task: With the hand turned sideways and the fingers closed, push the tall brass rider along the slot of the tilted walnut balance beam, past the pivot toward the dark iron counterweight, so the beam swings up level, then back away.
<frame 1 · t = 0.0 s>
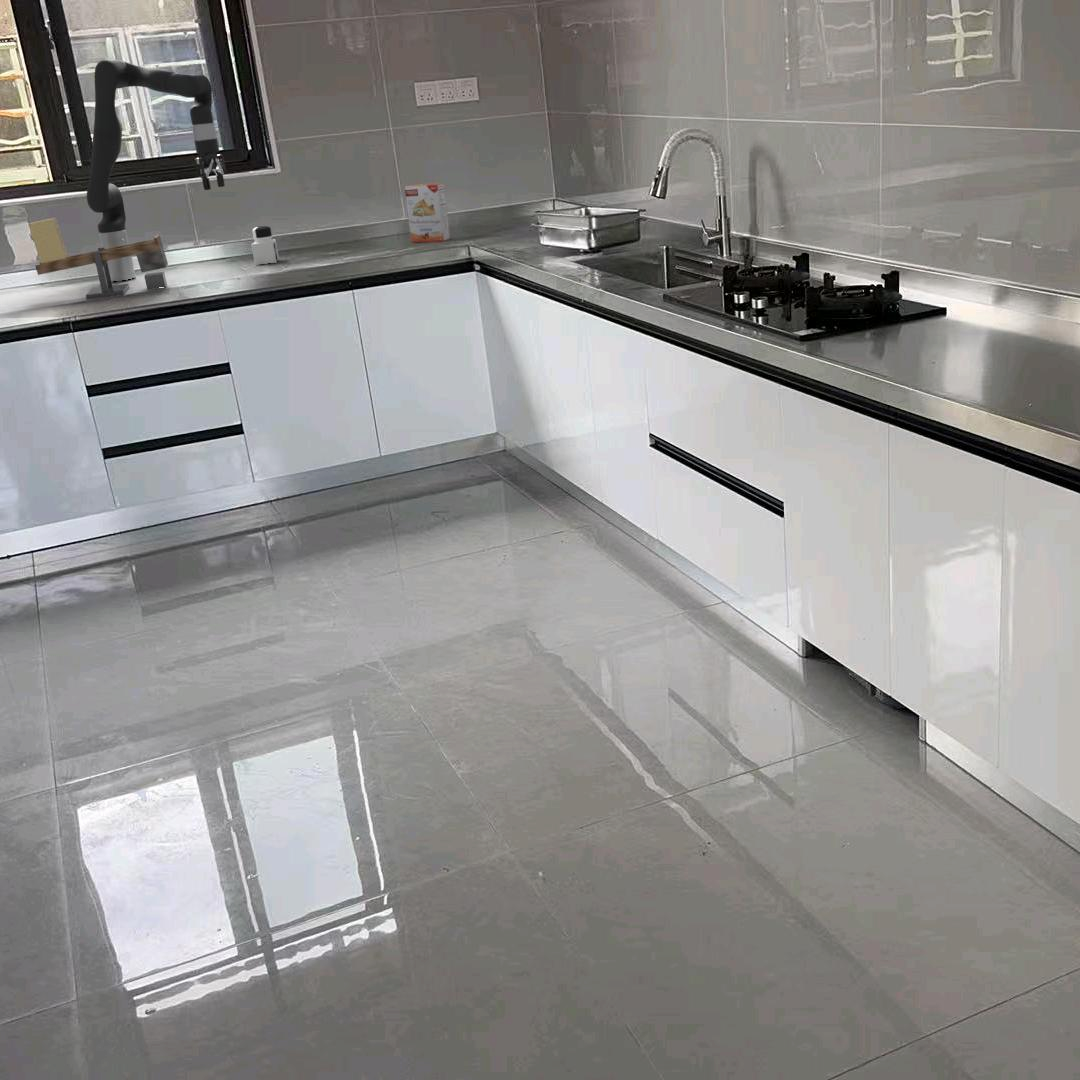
hand: (214, 188, 411), 29 cm above the counter, tool pointing down, fingers open, 8 cm apart
pivot stand: (108, 293, 407), on the counter
beam: (102, 263, 403), point 10 cm above the counter, hinge at 5.1°, touching rider
cracker box: (431, 241, 458), on the counter
container: (267, 263, 443), on the counter
rider: (56, 263, 400), point 12 cm above the counter, tilted 5°, touching beam
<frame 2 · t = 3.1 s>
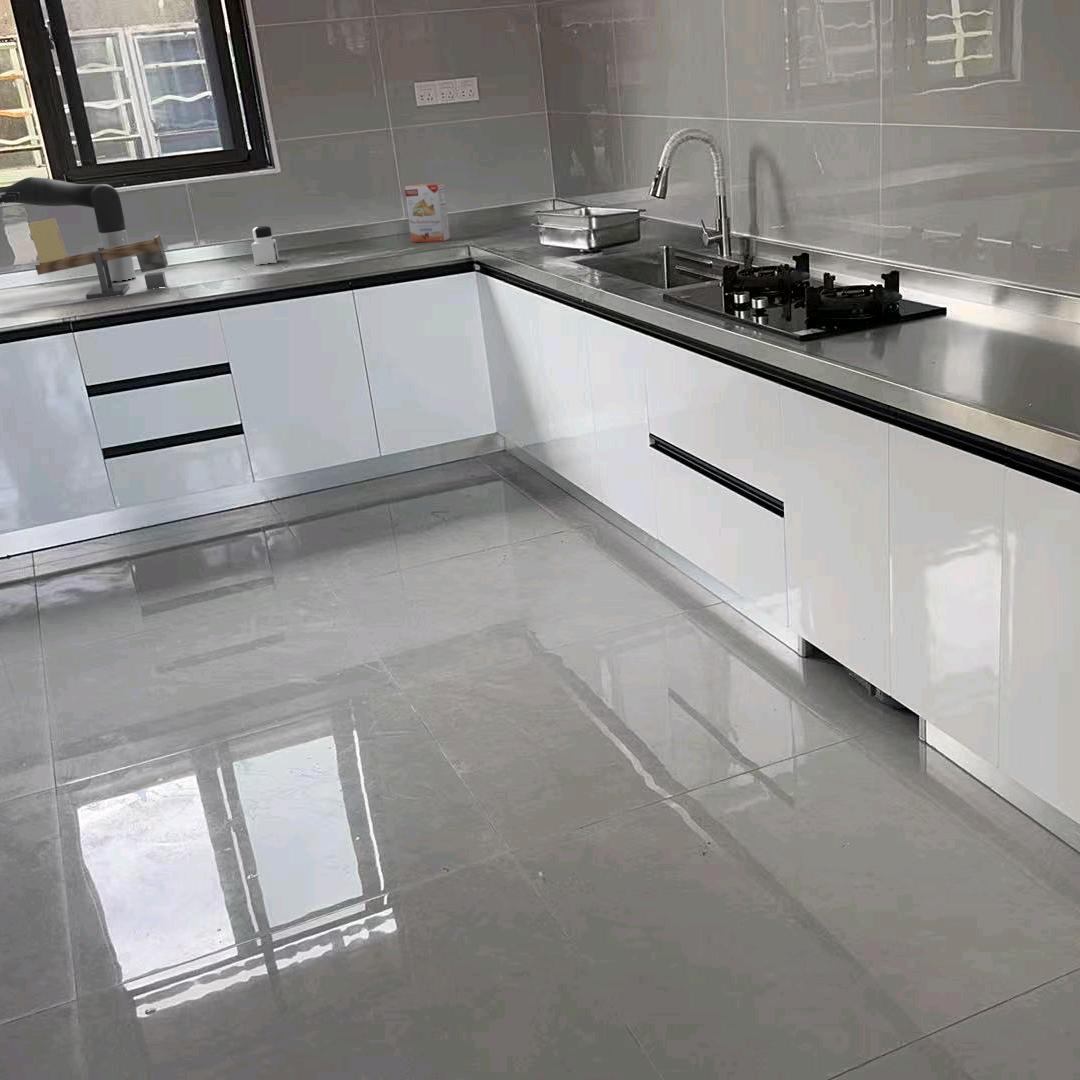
hand: (17, 197, 389), 34 cm above the counter, tool horizontal, fingers open, 8 cm apart
nothing on the counter moved.
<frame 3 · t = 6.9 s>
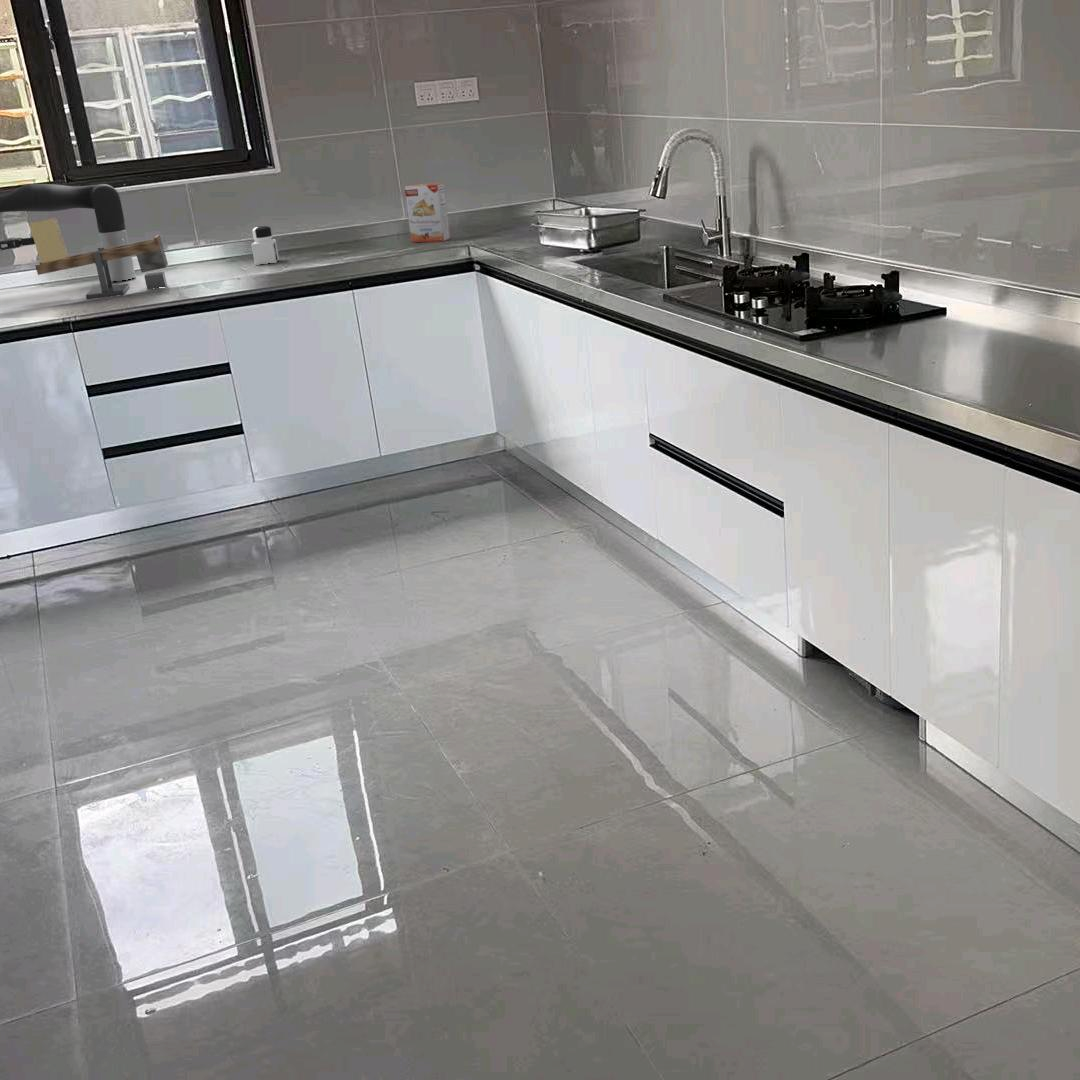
hand: (34, 240, 395), 20 cm above the counter, tool horizontal, fingers closed
rider: (56, 263, 400), point 12 cm above the counter, tilted 5°, touching beam, gripper
everything else where it was.
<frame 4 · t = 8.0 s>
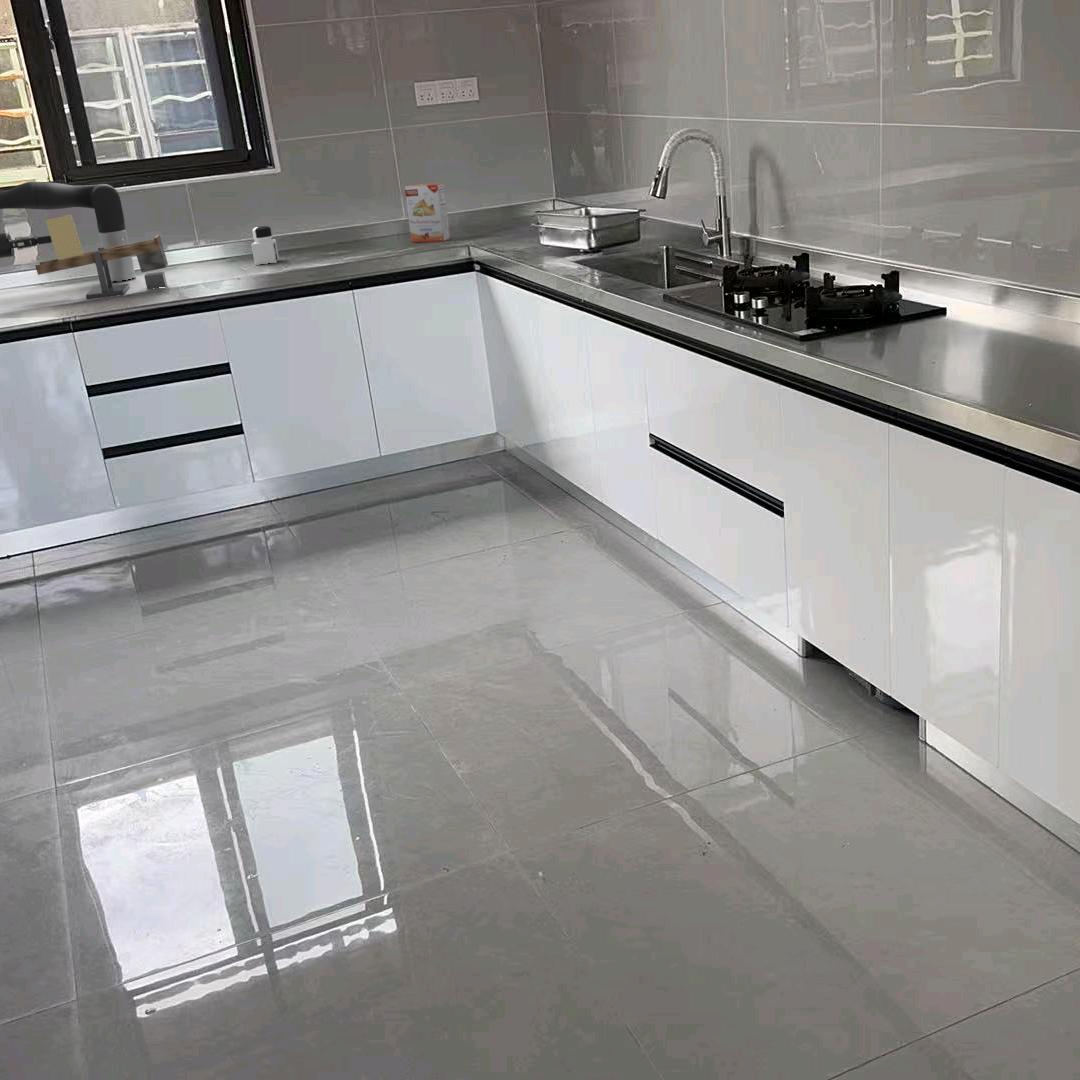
hand: (50, 239, 395), 20 cm above the counter, tool horizontal, fingers closed
rider: (72, 260, 401), point 12 cm above the counter, tilted 5°, touching beam, gripper
everything else where it was.
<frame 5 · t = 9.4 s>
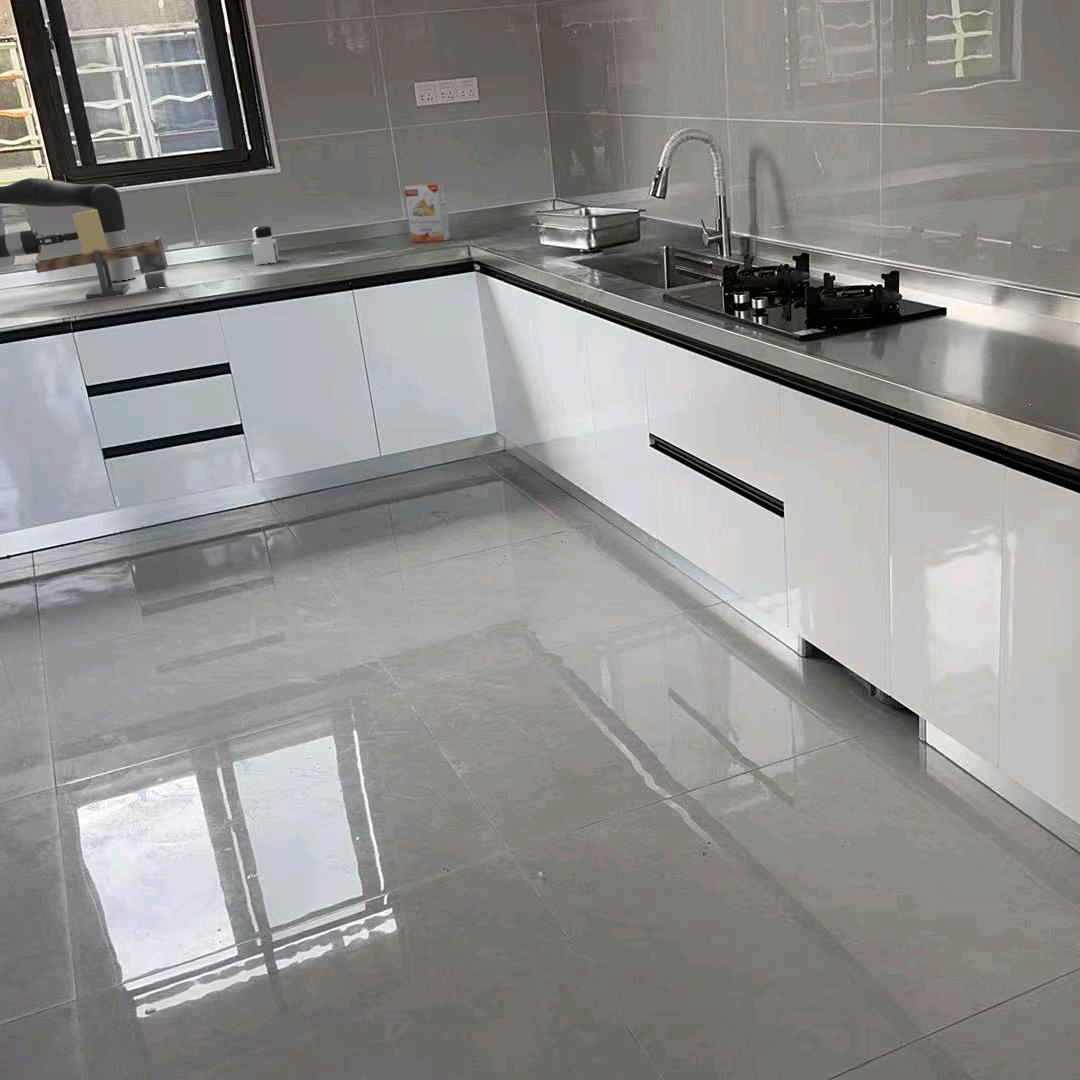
hand: (77, 235, 396), 20 cm above the counter, tool horizontal, fingers closed
beam: (102, 263, 403), point 10 cm above the counter, hinge at 3.2°
rider: (96, 254, 402), point 13 cm above the counter, touching gripper
everything else where it was.
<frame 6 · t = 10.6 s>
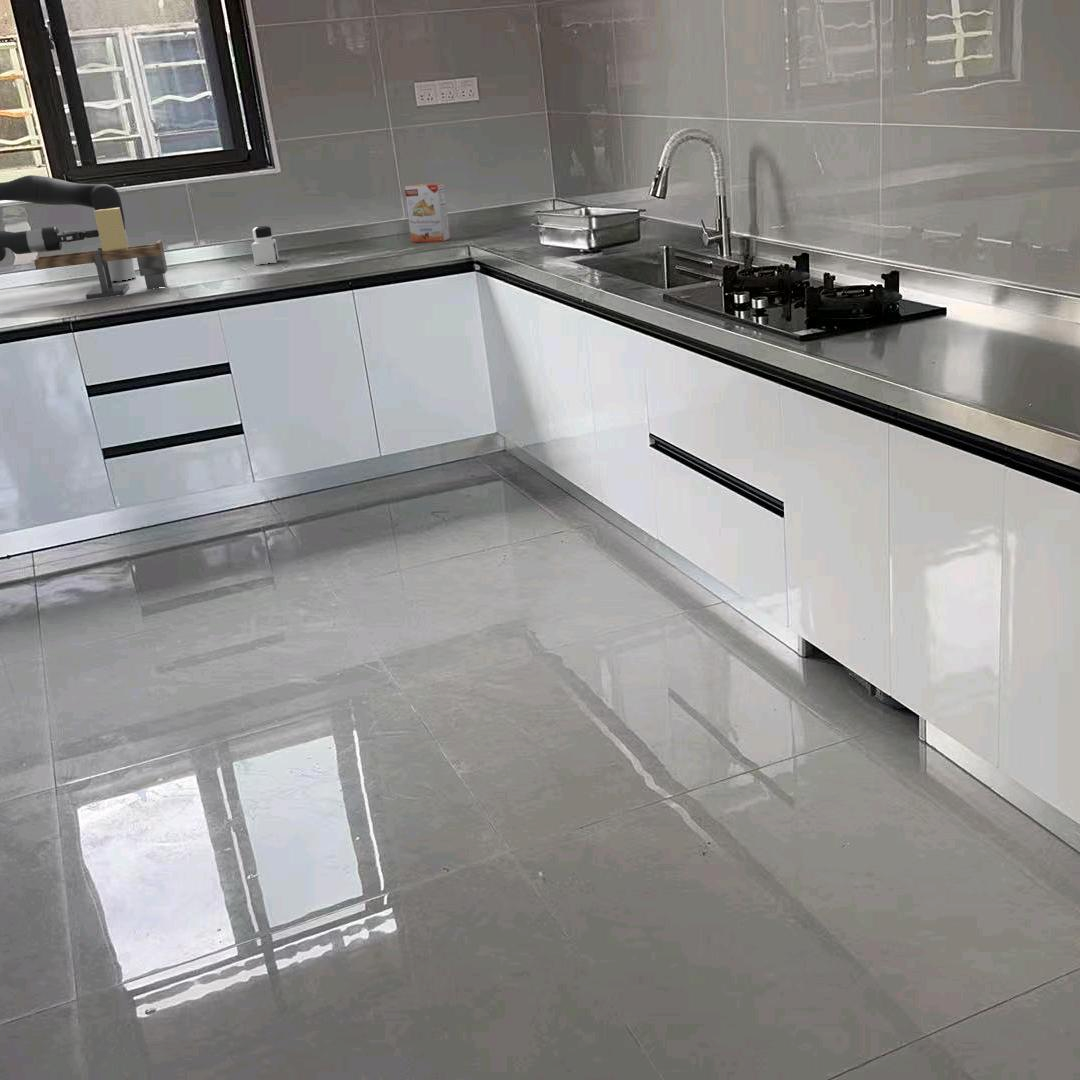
hand: (98, 233, 398), 20 cm above the counter, tool horizontal, fingers closed
beam: (101, 263, 403), point 10 cm above the counter, hinge at -0.1°, touching rider
rider: (116, 252, 403), point 13 cm above the counter, touching beam, gripper
everything else where it was.
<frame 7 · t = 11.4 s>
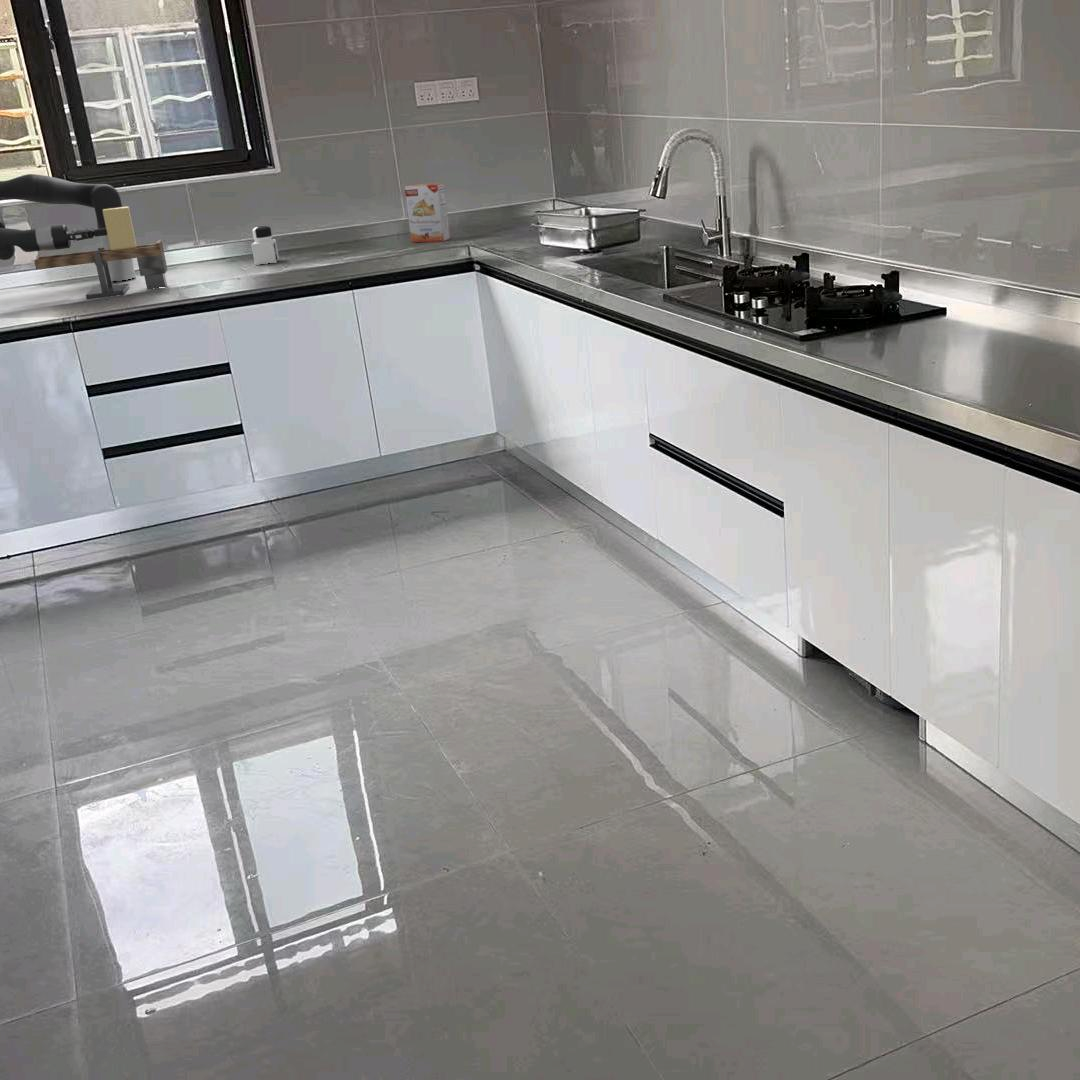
hand: (107, 231, 400), 20 cm above the counter, tool horizontal, fingers closed
rider: (124, 251, 404), point 13 cm above the counter, touching beam, gripper
everything else where it was.
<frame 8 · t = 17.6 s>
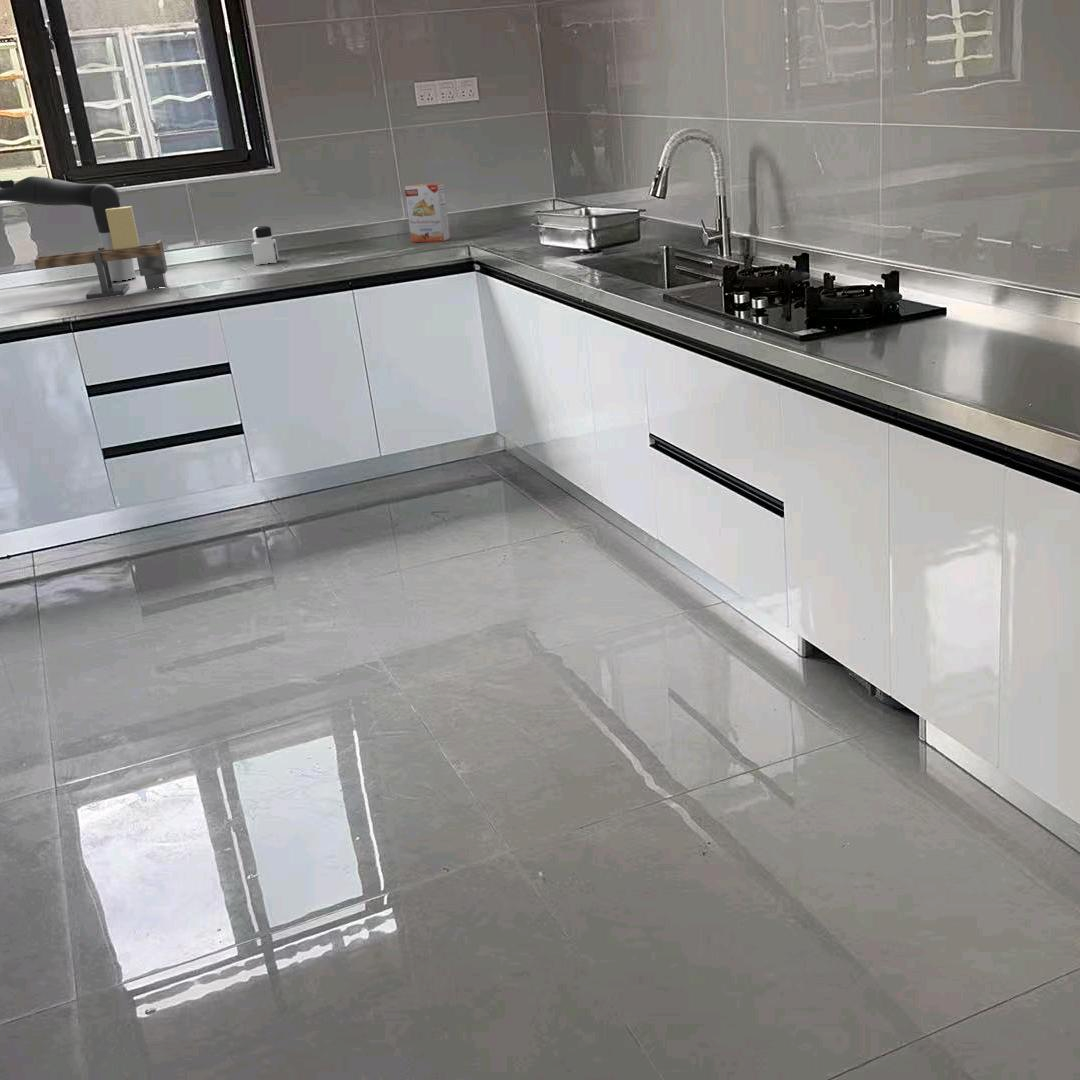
hand: (13, 183, 392), 38 cm above the counter, tool horizontal, fingers closed
rider: (127, 251, 404), point 13 cm above the counter, touching beam
everything else where it was.
at the end: beam at +0° (first picture: +5°); rider inside the target area on the beam (0.4 cm from its centre), point 1.0 cm above the beam's base; rider tilted 0° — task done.
